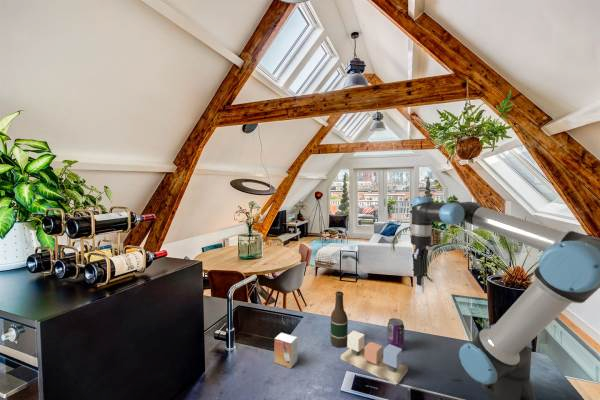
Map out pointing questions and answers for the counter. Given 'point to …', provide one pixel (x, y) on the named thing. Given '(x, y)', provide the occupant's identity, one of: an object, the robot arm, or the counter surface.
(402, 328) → the beverage can
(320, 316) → the counter surface
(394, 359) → the light blue cube
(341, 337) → the beer bottle
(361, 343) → the cream cube
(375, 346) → the salmon orange cube
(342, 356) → the board
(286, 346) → the small box
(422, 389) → the counter surface
